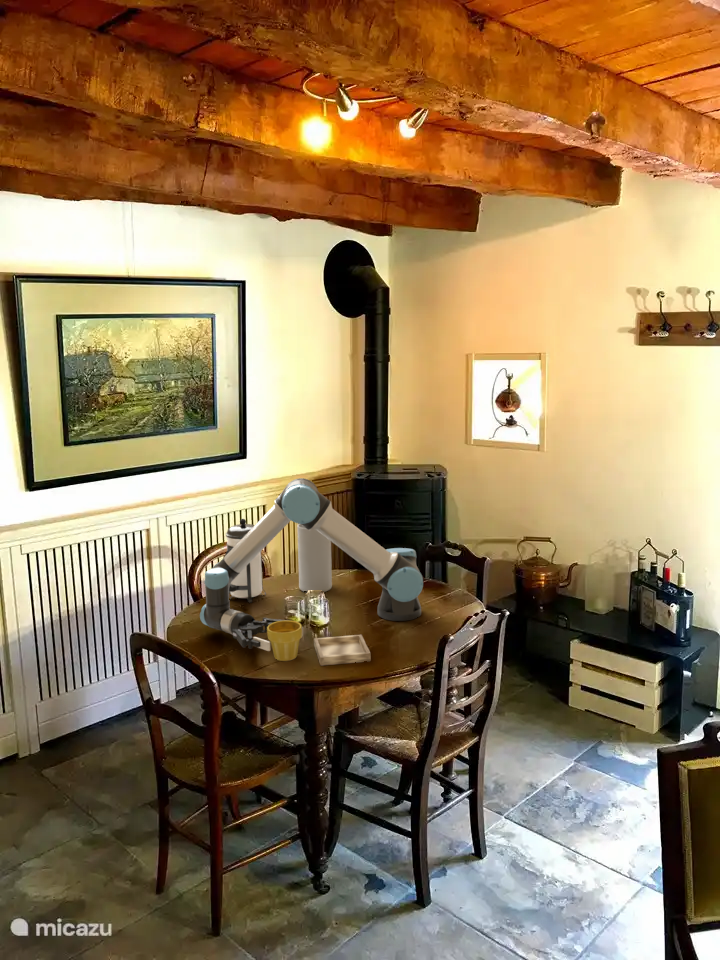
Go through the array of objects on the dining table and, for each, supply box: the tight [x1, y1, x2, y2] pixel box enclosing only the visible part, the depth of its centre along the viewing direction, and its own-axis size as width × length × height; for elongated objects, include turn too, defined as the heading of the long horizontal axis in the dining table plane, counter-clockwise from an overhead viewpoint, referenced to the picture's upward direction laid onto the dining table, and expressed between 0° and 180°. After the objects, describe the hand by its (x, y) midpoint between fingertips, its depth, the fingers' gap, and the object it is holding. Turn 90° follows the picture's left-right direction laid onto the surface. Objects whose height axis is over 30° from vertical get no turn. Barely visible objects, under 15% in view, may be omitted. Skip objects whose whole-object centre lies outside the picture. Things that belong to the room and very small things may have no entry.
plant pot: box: [266, 619, 303, 662], centre depth 232 cm, size 10×10×10 cm
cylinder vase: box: [297, 523, 333, 593], centre depth 295 cm, size 12×12×25 cm
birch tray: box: [313, 634, 372, 666], centre depth 235 cm, size 15×15×2 cm
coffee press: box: [224, 518, 267, 604], centre depth 284 cm, size 17×16×30 cm
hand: (286, 639), depth 231 cm, fingers open, 13 cm apart
